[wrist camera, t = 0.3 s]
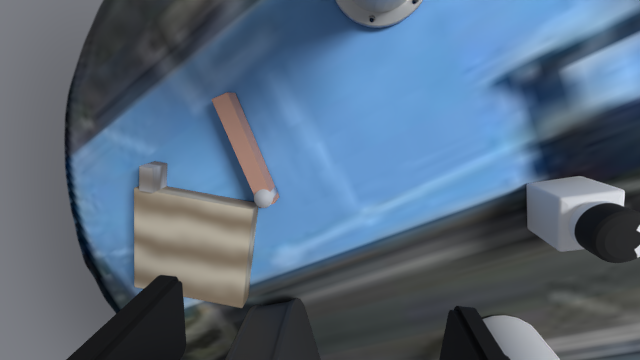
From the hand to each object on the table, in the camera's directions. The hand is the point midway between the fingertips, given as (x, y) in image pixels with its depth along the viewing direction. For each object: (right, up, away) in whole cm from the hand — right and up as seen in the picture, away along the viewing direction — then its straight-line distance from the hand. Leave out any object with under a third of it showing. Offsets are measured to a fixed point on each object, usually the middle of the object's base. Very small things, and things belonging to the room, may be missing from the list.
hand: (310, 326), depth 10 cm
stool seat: (-19, -3, +38) cm, 43 cm away
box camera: (+33, +2, +33) cm, 47 cm away
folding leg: (-10, +9, +34) cm, 37 cm away
